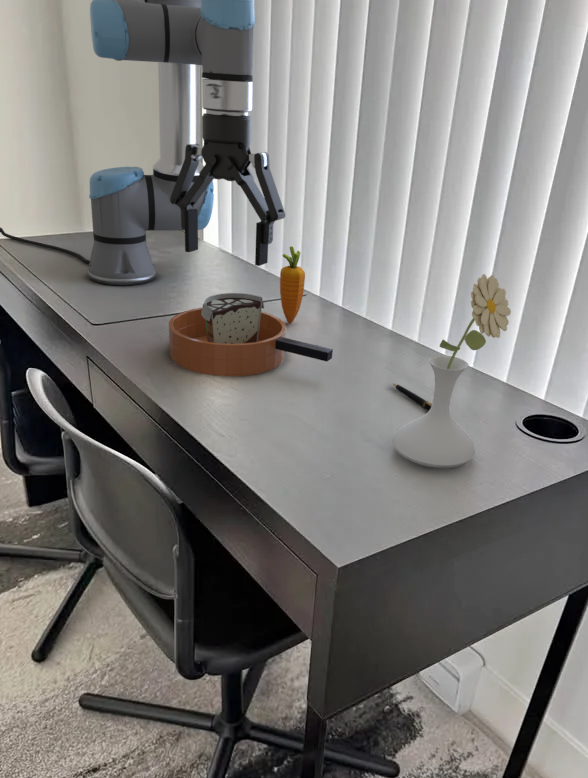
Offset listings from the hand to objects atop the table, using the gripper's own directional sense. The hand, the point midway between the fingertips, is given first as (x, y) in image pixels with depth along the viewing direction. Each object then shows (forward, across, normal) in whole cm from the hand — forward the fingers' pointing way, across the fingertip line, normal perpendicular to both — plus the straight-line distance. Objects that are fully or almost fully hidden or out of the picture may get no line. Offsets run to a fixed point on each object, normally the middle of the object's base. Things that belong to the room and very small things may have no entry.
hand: (225, 257), depth 116 cm
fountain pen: (+18, +36, +1) cm, 40 cm away
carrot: (+17, +1, +23) cm, 29 cm away
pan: (+17, 0, +1) cm, 17 cm away
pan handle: (+14, +15, +1) cm, 20 cm away
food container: (+17, 0, +1) cm, 17 cm away
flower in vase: (+18, +44, -14) cm, 49 cm away
